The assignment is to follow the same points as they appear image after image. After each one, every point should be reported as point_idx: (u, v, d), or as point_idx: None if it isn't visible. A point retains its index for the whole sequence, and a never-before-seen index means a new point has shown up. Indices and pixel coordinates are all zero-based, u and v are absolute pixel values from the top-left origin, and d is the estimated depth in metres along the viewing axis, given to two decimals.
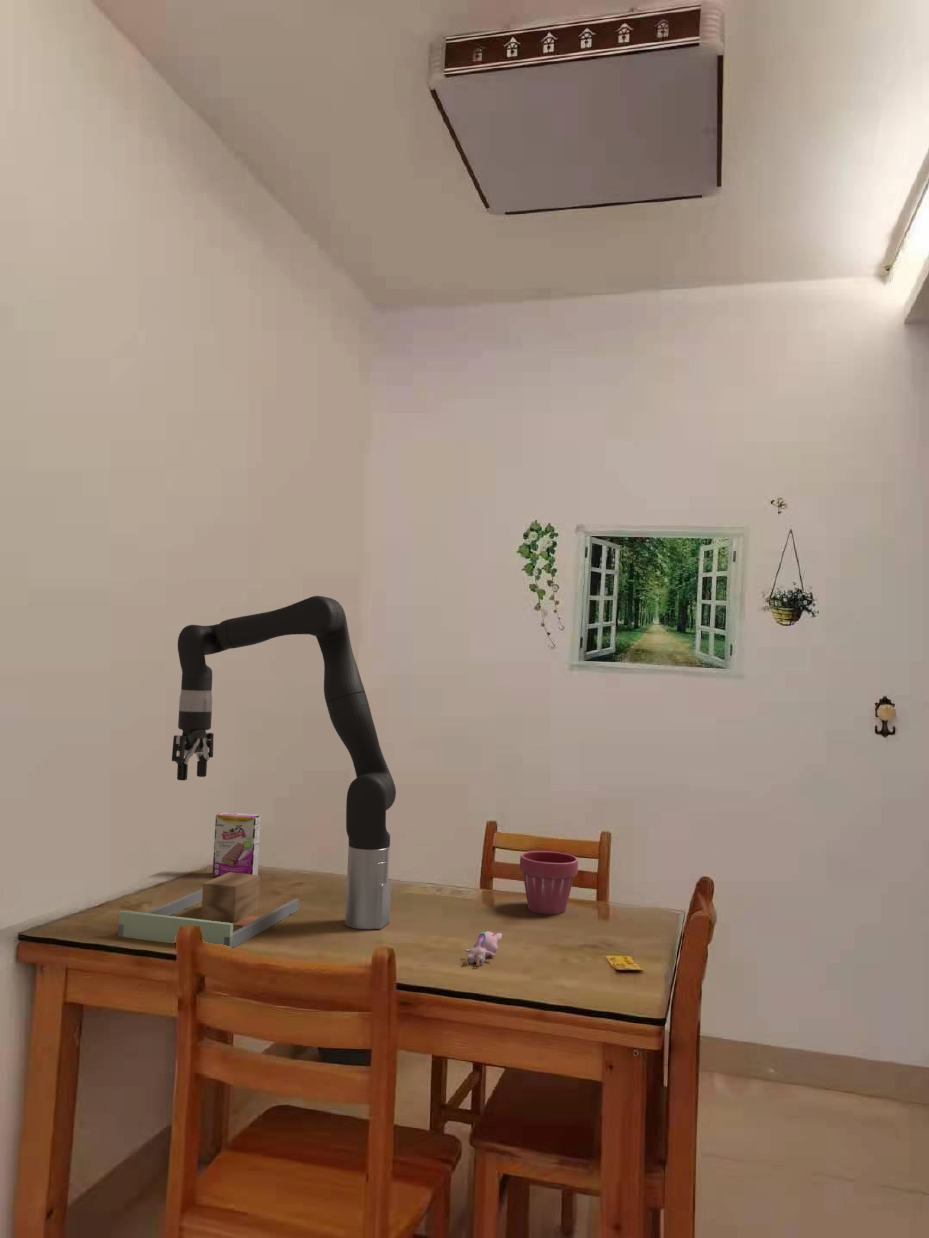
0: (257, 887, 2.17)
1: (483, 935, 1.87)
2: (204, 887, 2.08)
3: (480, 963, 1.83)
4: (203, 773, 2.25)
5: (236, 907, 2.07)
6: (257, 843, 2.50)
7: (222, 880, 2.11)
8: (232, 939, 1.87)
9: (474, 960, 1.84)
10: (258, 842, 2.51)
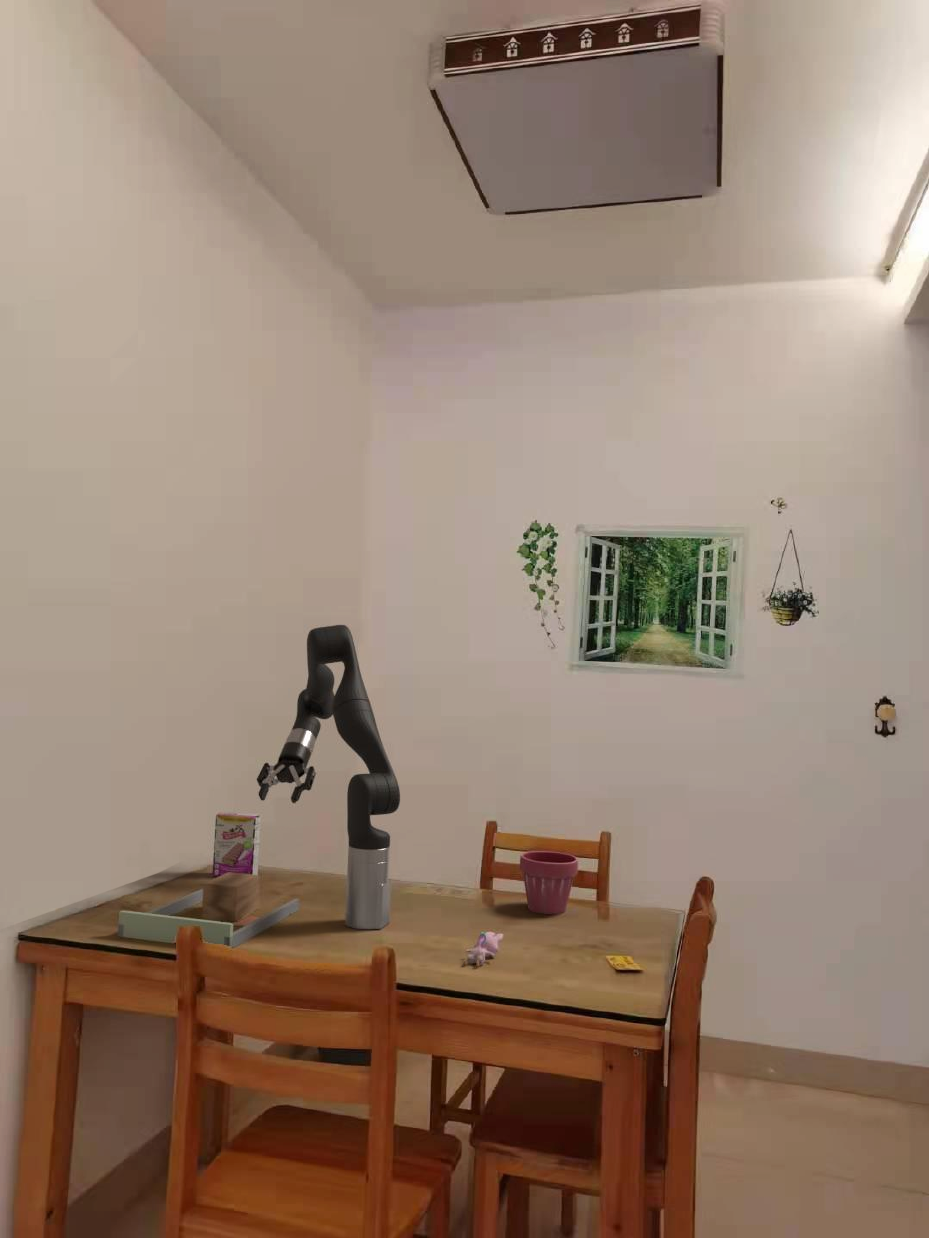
0: (257, 887, 2.17)
1: (483, 935, 1.87)
2: (204, 887, 2.08)
3: (480, 963, 1.83)
4: None
5: (237, 907, 2.07)
6: (257, 843, 2.50)
7: (222, 880, 2.11)
8: (232, 939, 1.87)
9: (474, 960, 1.83)
10: (258, 842, 2.51)
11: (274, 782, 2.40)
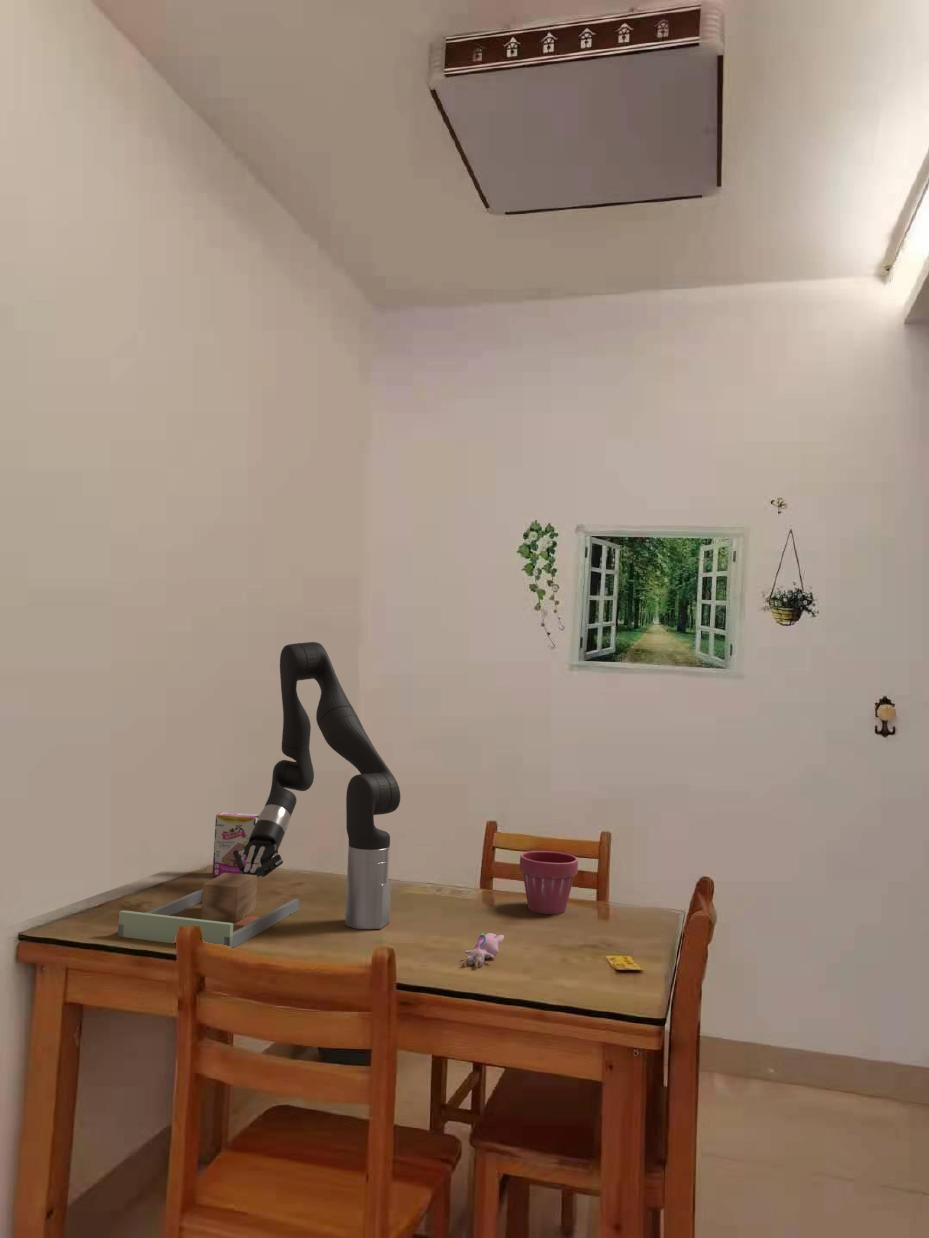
0: (254, 887, 2.16)
1: (483, 937, 1.86)
2: (204, 888, 2.07)
3: (479, 965, 1.82)
4: None
5: (238, 907, 2.06)
6: None
7: (221, 881, 2.11)
8: (232, 939, 1.87)
9: (473, 962, 1.83)
10: None
11: None
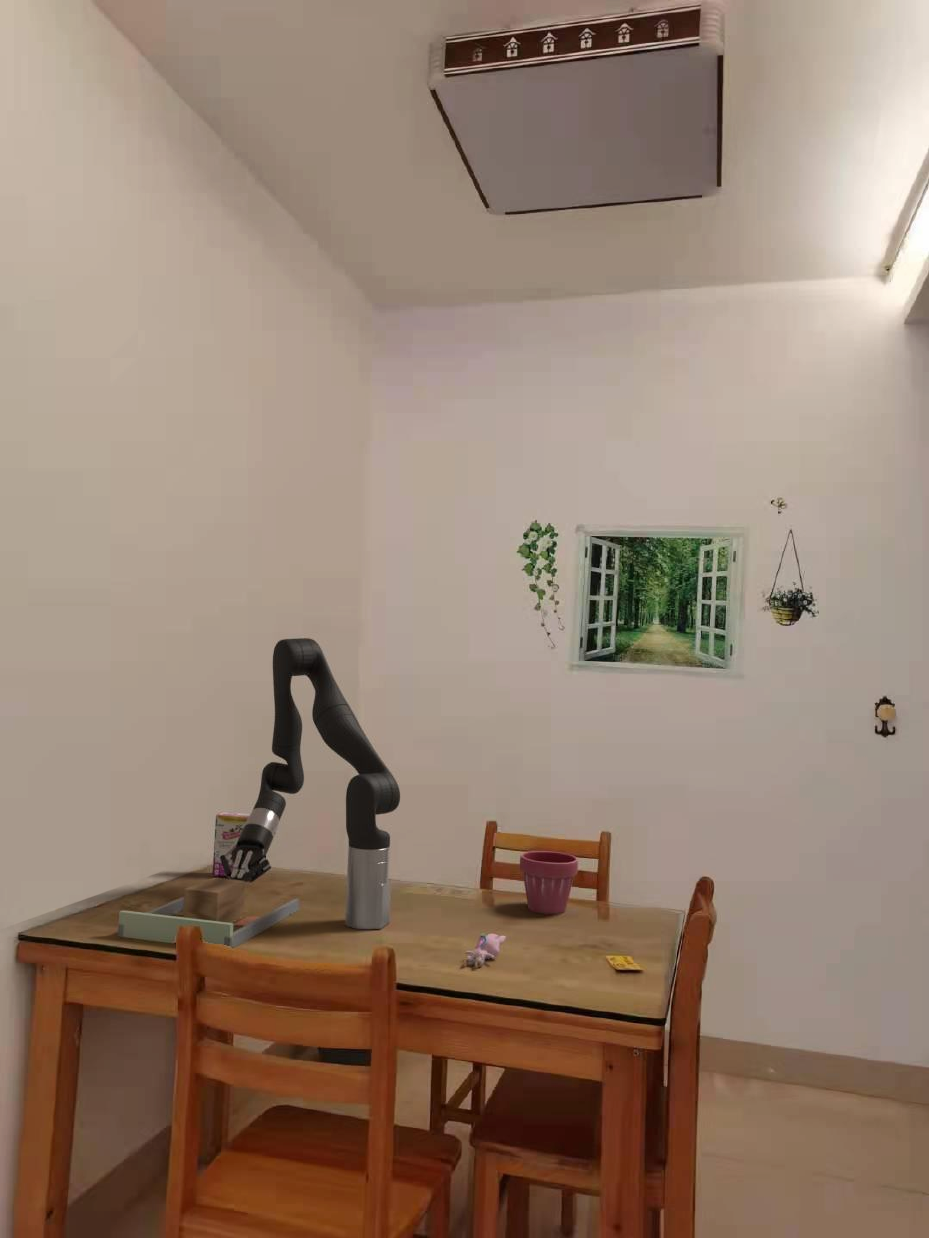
0: (241, 893, 2.10)
1: (483, 937, 1.86)
2: (185, 893, 2.02)
3: (479, 965, 1.82)
4: None
5: (218, 914, 2.00)
6: None
7: (204, 886, 2.05)
8: (232, 939, 1.87)
9: (473, 962, 1.82)
10: None
11: None
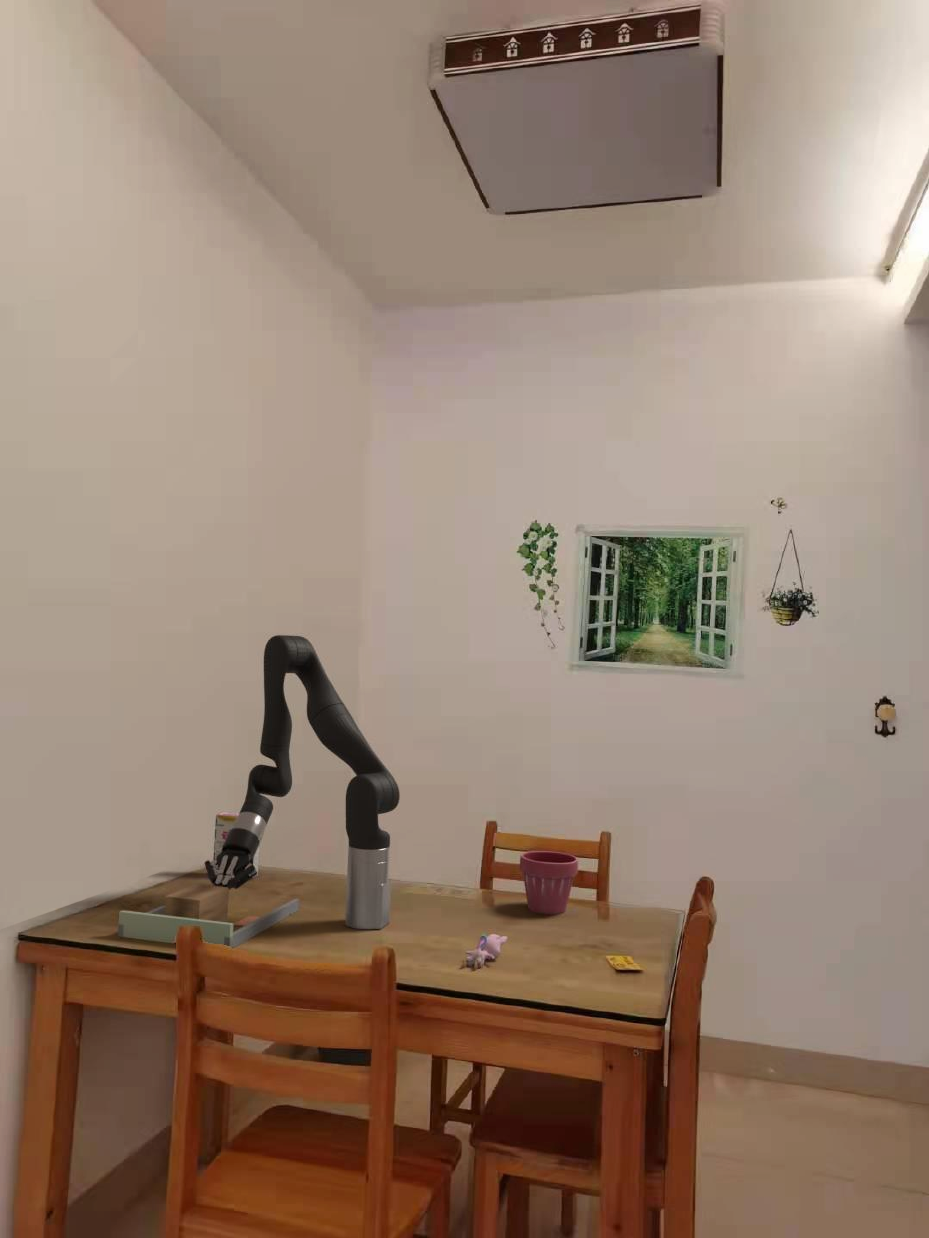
0: (225, 900, 2.04)
1: (484, 937, 1.85)
2: (166, 900, 1.95)
3: (478, 966, 1.81)
4: None
5: None
6: None
7: (186, 893, 1.98)
8: (232, 939, 1.87)
9: (473, 962, 1.82)
10: None
11: None
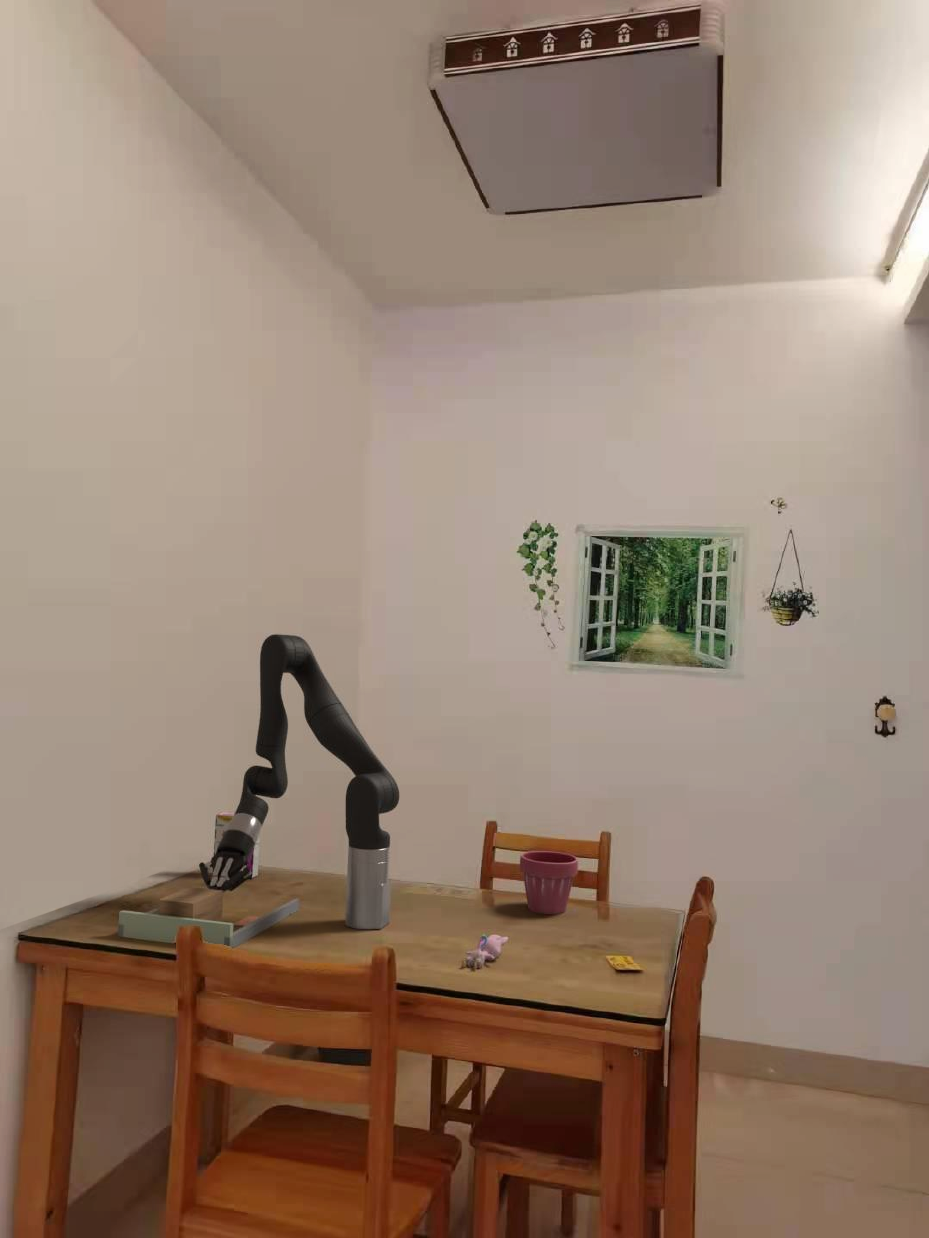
0: (219, 903, 2.01)
1: (484, 938, 1.85)
2: (160, 904, 1.93)
3: (478, 966, 1.81)
4: None
5: None
6: (257, 843, 2.50)
7: (180, 896, 1.96)
8: (232, 939, 1.87)
9: (473, 963, 1.82)
10: (258, 842, 2.51)
11: None
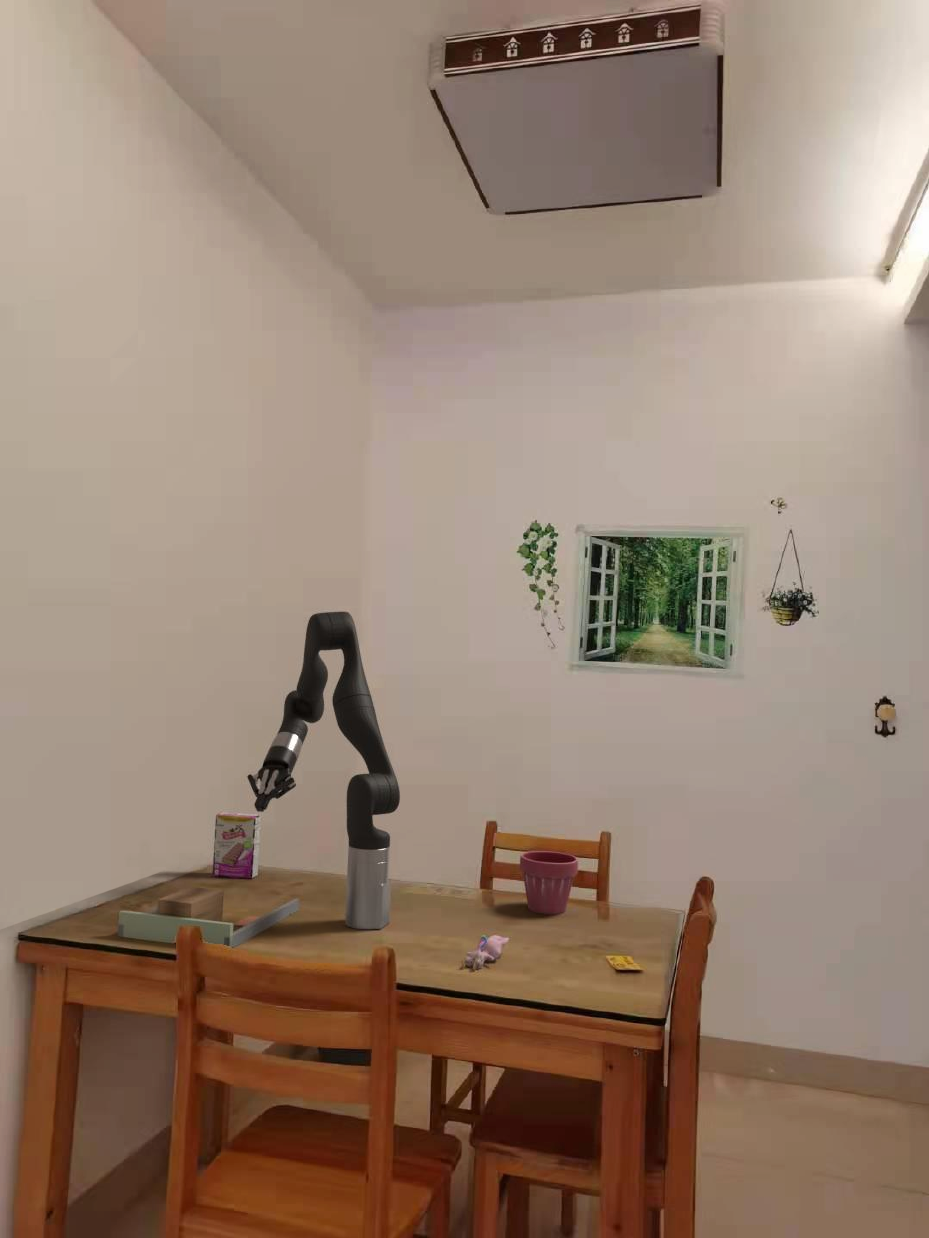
0: (220, 903, 2.01)
1: (484, 939, 1.85)
2: (159, 903, 1.93)
3: (477, 967, 1.81)
4: None
5: None
6: (257, 843, 2.50)
7: (180, 896, 1.96)
8: (232, 939, 1.87)
9: (472, 963, 1.82)
10: (258, 842, 2.51)
11: None
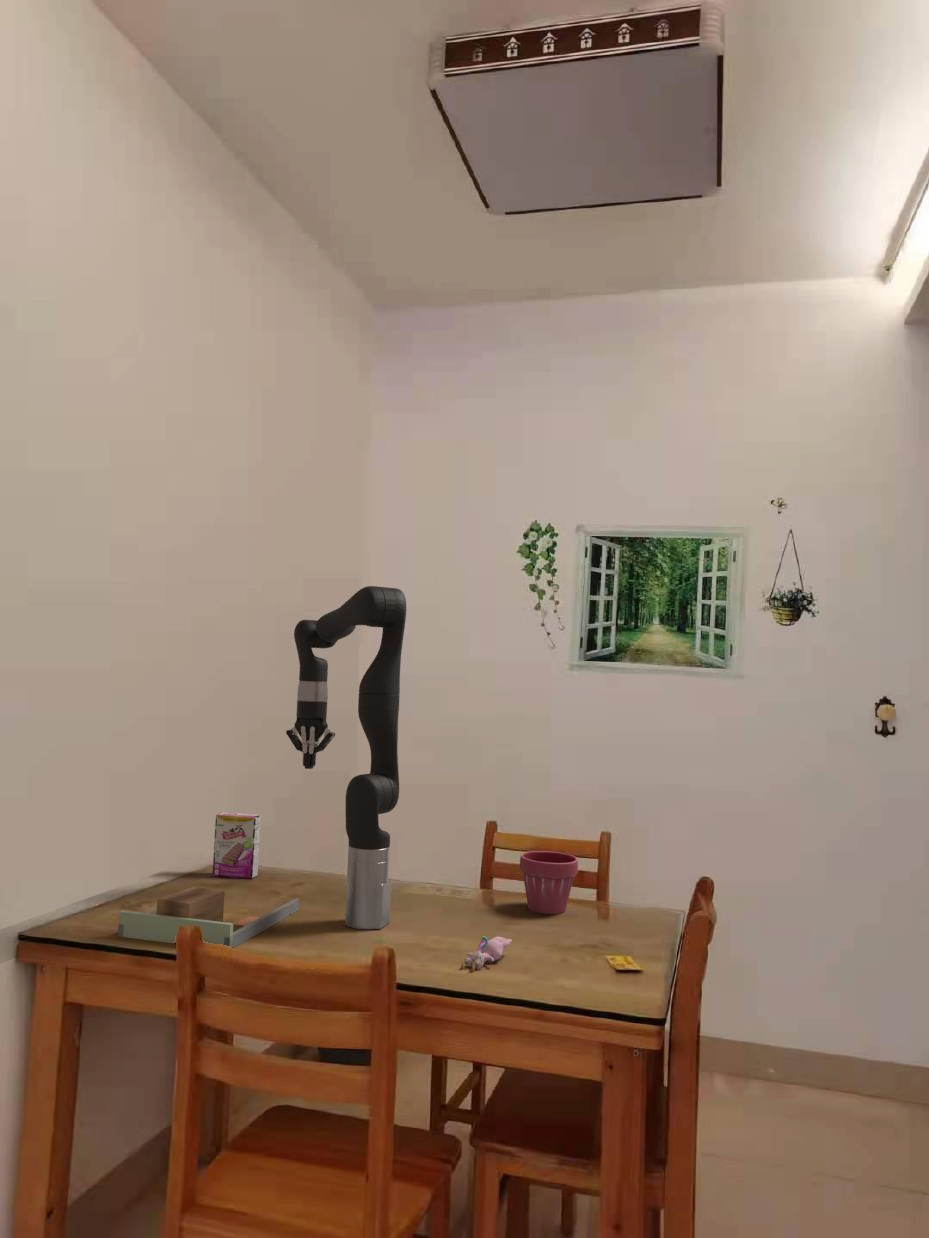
0: (220, 904, 2.00)
1: (485, 939, 1.84)
2: (158, 903, 1.93)
3: (477, 967, 1.80)
4: None
5: None
6: (257, 843, 2.50)
7: (180, 896, 1.96)
8: (232, 939, 1.87)
9: (472, 964, 1.81)
10: (258, 842, 2.51)
11: None
